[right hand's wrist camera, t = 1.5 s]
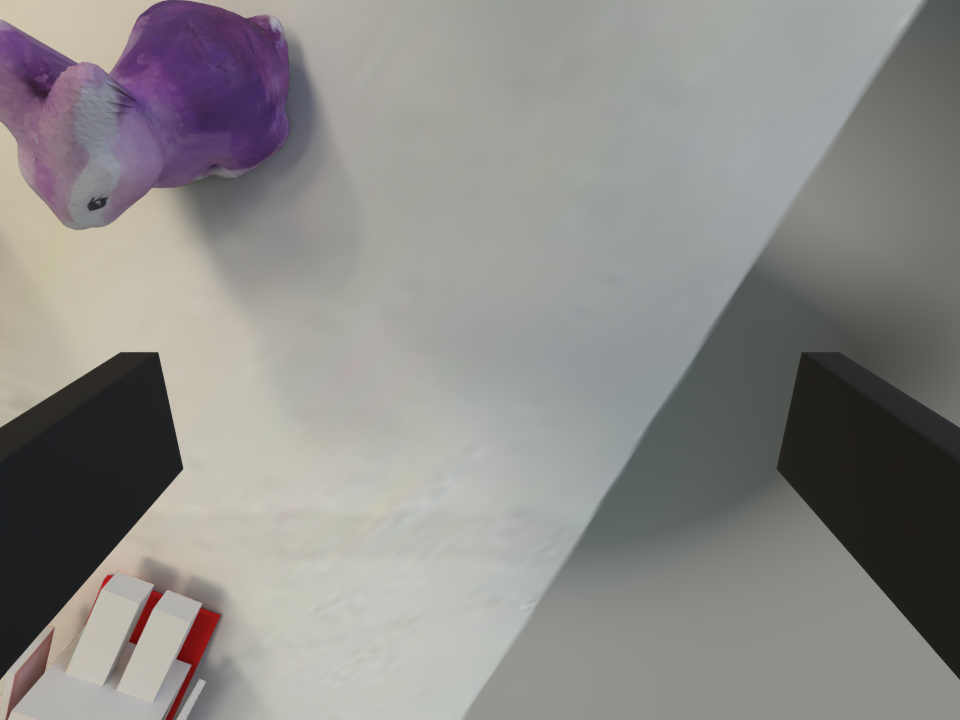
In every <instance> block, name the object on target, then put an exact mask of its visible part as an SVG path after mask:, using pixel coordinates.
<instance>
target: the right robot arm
mask: <svg viewBox="0 0 960 720" xmlns="http://www.w3.org/2000/svg"><path fill="white" fill-rule="evenodd" d="M182 470H183V465H182V460H181V456H180V451H179V446H178V442H177V437H176V432H175V428H174V423H173V419H172V414H171V409H170V405H169V400H168V395H167V391H166V386H165V381H164V377H163V372H162V368H161V363H160V358H159V354H158V352H120V353H119V354H117V355H116V356H114V357H112V358H111V359H109V360H108V361H106V362H104V363H103V364H101V365H100V366H98V367H96V368H95V369H93V370H92V371H90V372H88V373H87V374H85V375H84V376H82V377H80V378H79V379H77V380H76V381H74V382H72V383H71V384H69V385H68V386H66V387H65V388H63V389H61V390H60V391H58V392H57V393H55V394H53V395H52V396H50V397H49V398H47V399H45V400H44V401H42V402H41V403H39V404H37V405H36V406H34V407H33V408H31V409H29V410H28V411H26V412H25V413H23V414H21V415H20V416H18V417H17V418H15V419H13V420H12V421H10V422H9V423H7V424H5V425H4V426H2V427H1V428H0V679H1V678H2V677H3V676H4V675H5V674H6V672H7V671H8V670H9V669H10V668H11V667H12V665H13V664H14V663H15V662H16V661H17V660H18V659H19V657H20V656H21V655H22V654H23V653H24V652H25V651H26V649H27V648H28V647H29V646H30V645H31V644H32V642H33V641H34V640H35V639H36V638H37V637H38V636H39V634H40V633H41V632H42V631H43V630H44V629H45V627H46V626H47V625H48V624H49V623H50V622H51V621H52V619H53V618H54V617H55V616H56V615H57V614H58V613H59V611H60V610H61V609H62V608H63V607H64V606H65V604H66V603H67V602H68V601H69V600H70V599H71V598H72V596H73V595H74V594H75V593H76V592H77V591H78V590H79V588H80V587H81V586H82V585H83V584H84V583H85V581H86V580H87V579H88V578H89V577H90V576H91V575H92V573H93V572H94V571H95V570H96V569H97V568H98V566H99V565H100V564H101V563H102V562H103V561H104V560H105V558H106V557H107V556H108V555H109V554H110V553H111V552H112V550H113V549H114V548H115V547H116V546H117V545H118V543H119V542H120V541H121V540H122V539H123V538H124V537H125V535H126V534H127V533H128V532H129V531H130V530H131V528H132V527H133V526H134V525H135V524H136V523H137V522H138V520H139V519H140V518H141V517H142V516H143V515H144V514H145V512H146V511H147V510H148V509H149V508H150V507H151V505H152V504H153V503H154V502H155V501H156V500H157V499H158V497H159V496H160V495H161V494H162V493H163V492H164V490H165V489H166V488H167V487H168V486H169V485H170V484H171V482H172V481H173V480H174V479H175V478H176V477H177V476H178V474H179V473H180V472H181V471H182ZM777 470H778V471H779V472H780V473H781V474H782V476H783V477H784V478H785V479H786V480H787V481H788V482H789V484H790V485H791V486H792V487H793V488H794V489H795V490H796V492H797V493H798V494H799V495H800V496H801V497H802V499H803V500H804V501H805V502H806V503H807V504H808V505H809V507H810V508H811V509H812V510H813V511H814V512H815V514H816V515H817V516H818V517H819V518H820V519H821V520H822V522H823V523H824V524H825V525H826V526H827V527H828V528H829V530H830V531H831V532H832V533H833V534H834V535H835V537H836V538H837V539H838V540H839V541H840V542H841V543H842V545H843V546H844V547H845V548H846V549H847V550H848V551H849V553H850V554H851V555H852V556H853V557H854V558H855V560H856V561H857V562H858V563H859V564H860V565H861V566H862V568H863V569H864V570H865V571H866V572H867V573H868V575H869V576H870V577H871V578H872V579H873V580H874V581H875V583H876V584H877V585H878V586H879V587H880V588H881V589H882V591H883V592H884V593H885V594H886V595H887V596H888V598H889V599H890V600H891V601H892V602H893V603H894V604H895V606H896V607H897V608H898V609H899V610H900V611H901V613H902V614H903V615H904V616H905V617H906V618H907V619H908V621H909V622H910V623H911V624H912V625H913V626H914V627H915V629H916V630H917V631H918V632H919V633H920V634H921V636H922V637H923V638H924V639H925V640H926V641H927V642H928V644H929V645H930V646H931V647H932V648H933V649H934V651H935V652H936V653H937V654H938V655H939V656H940V657H941V659H942V660H943V661H944V662H945V663H946V664H947V665H948V667H949V668H950V669H951V670H952V671H953V672H954V673H955V675H956V676H957V677H958V678H959V679H960V428H959V427H958V426H956V425H954V424H953V423H951V422H950V421H948V420H947V419H945V418H943V417H942V416H940V415H939V414H937V413H935V412H934V411H932V410H931V409H929V408H927V407H926V406H924V405H923V404H921V403H919V402H918V401H916V400H915V399H913V398H911V397H910V396H908V395H907V394H905V393H903V392H902V391H900V390H899V389H897V388H895V387H894V386H892V385H891V384H889V383H887V382H886V381H884V380H883V379H881V378H880V377H878V376H876V375H875V374H873V373H872V372H870V371H868V370H867V369H865V368H864V367H862V366H860V365H859V364H857V363H856V362H854V361H852V360H851V359H849V358H848V357H846V356H844V355H843V354H841V353H840V352H802V354H801V358H800V363H799V368H798V372H797V377H796V381H795V386H794V391H793V395H792V400H791V405H790V410H789V414H788V419H787V423H786V428H785V433H784V437H783V442H782V447H781V451H780V456H779V460H778V465H777Z"/></svg>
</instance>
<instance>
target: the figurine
mask: <svg viewBox="0 0 960 720" xmlns="http://www.w3.org/2000/svg"><path fill="white" fill-rule="evenodd" d="M288 89H289V64H288V46H287V41H286V36H285V32H284V30H283V27H282V25H281V23H280V21H279V19H278V18H276V17H275V16H272V15H258V16H255V17H251V18H246V19H245V18H243V17H242V16H240V15H238V14H236V13H233V12H230V11H227V10H225V9H222V8H219V7H216V6H211V5H207V4H203V3H197V2H192V1H184V0H167V1H162V2H159V3H156V4H154V5H153V6H151V7H150V8H149V9H147V10H146V11H145V12H144V13H142V14H141V15H140V16H139V17H138V19H137V20H136V23H135V25H134V27H133V29H132V31H131V34H130V36H129V39H128V42H127V45H126V47H125V49H124V51H123V53H122V55H121V57H120V58H119V60H118V62H117V63H116V65H115V66H114V68H113V69H112V71H111V72H110V73H109V74H108V73H106V72H105V71H104V70H103V69H101V68H100V67H99V66H98V65H95V64H92V63H89V62H81V63H79V64H78V63H76V62H74V61H73V60H71V59H69V58H67V57H66V56H64V55H62V54H61V53H59V52H57V51H55V50H54V49H52V48H50V47H49V46H47V45H45V44H43V43H42V42H40V41H38V40H36V39H35V38H33V37H31V36H30V35H28V34H26V33H24V32H23V31H21V30H19V29H18V28H16V27H14V26H12V25H11V24H9V23H7V22H5V21H3V20H0V121H1V122H2V123H3V124H4V125H5V126H6V127H7V128H8V130H9V131H10V132H11V133H12V135H13V136H14V137H15V139H16V141H17V144H18V165H19V168H20V171H21V173H22V176H23V178H24V180H25V181H26V182H27V184H28V185H29V187H30V188H31V189H32V190H33V191H34V192H35V193H36V194H37V195H38V196H39V197H40V198H41V199H42V200H43V201H44V202H45V203H46V204H47V205H48V207H49V208H50V209H51V210H52V211H53V213H54V214H55V215H56V216H57V218H58V219H59V220H60V221H61V222H62V224H63V225H64V226H66V227H69V228H71V229H74V230H83V229H87V228H91V227H103V226H106V225H109V224H110V223H112V222H113V221H115V220H116V219H117V218H118V217H119V216H120V215H121V214H122V213H123V212H124V211H126V210H127V209H128V208H129V207H130V206H132V205H133V204H134V203H135V202H137V201H138V200H139V199H140V198H142V197H143V196H144V195H146V193H147V192H148V191H149V190H150V189H151V188H173V187H178V186H183V185H185V184H188V183H190V182H192V181H194V180H200V179H204V178H206V177H209V176H211V175H217V176H219V177H222V178H225V179H230V178H237V177H239V176H241V175H243V174H245V173H247V172H249V171H250V170H252V169H254V168H256V167H257V166H258V165H260V164H261V163H263V162H265V161H266V160H268V159H269V158H270V157H271V156H273V155H274V154H275V153H277V152H278V151H279V149H280V148H281V147H282V146H283V145H284V144H285V141H286V139H287V137H288V134H289V122H288V118H287V116H286V113H285V104H286V99H287V95H288Z"/></svg>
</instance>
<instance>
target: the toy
mask: <svg viewBox="0 0 960 720" xmlns="http://www.w3.org/2000/svg"><path fill="white" fill-rule="evenodd" d="M153 587H154V584H151V583H149V582H146V581H143V580H141V579H138V578H136V577H133V576H130V575H128V574H125V573H123V572H120V571H118V572H117V573H116V574H115V575H114V576H110V575H108V576H107V577H106V578H105V579H104V581H103V584H102V586H101V588H100V591H99V593H98V596H97V598H96V600H95V603H94V605H93V608H92V610H91V612H90V615H89V617H88V619H87V622H86V624H85V627H84V628H83V629H82V630H81V631H80V633H79V634H78V635H77V636H76V637H75V638H74V639H73V641H72V642H71V643H70V644H69V645H68V646H67V648H66V649H65V650H64V651H63V652H62V653H61V654H60V656H59V657H58V658H57V659H56V660H55V661H54V663H53V664H52V665H51V666H50V667H49V668H48V669H47V671H46V672H45V668H46V664H47V659H48V655H49V650H50V646H51V642H52V637H53V633H54V628H55V627H52V626H46V627H45V629H44V630H43V631H42V632H41V633H40V634H39V636H38V637H37V638H36V639H35V640H34V641H33V642H32V644H31V645H30V646H29V647H28V648H27V649H26V651H25V652H24V653H23V654H22V655H21V656H20V657H19V659H18V660H17V661H16V662H15V663H14V664H13V665H12V667H11V668H10V669H9V670H8V671H7V672H6V677H5V682H4V687H3V691H2V696H1V701H0V720H173V718H174V716H175V713H176V711H177V709H178V707H179V705H180V703H181V700H182V698H183V696H184V694H185V692H186V690H187V687H188V685H189V683H190V681H191V679H192V677H193V674H194V672H195V670H196V668H197V666H198V664H199V661H200V659H201V657H202V655H203V653H204V650H205V648H206V646H207V644H208V642H209V640H210V637H211V635H212V633H213V631H214V629H215V627H216V624H217V622H218V620H219V618H220V616H221V615H219V614H216V613H214V612H211V611H208V610H205V609H202V608H201V606H202V603H201V602H198V601H195V600H193V599H190V598H188V597H185V596H182V595H180V594H177V593H175V592H172V591H169V590H167V591H166V592H165V594H164V595H163V594H161V593H158V592H155V591H152V589H153ZM205 683H206V681H204V680H202V679H199V681H198V682H197V684H196V685H195V687H194V689H193V690H192V692H191V694H190V695H189V697H188V698H187V700H186V702H185V703H184V705H183V706H182V708H181V710H180V711H179V713H178V715H177V716H176V718H175V719H174V720H186V718H187V716H188V714H189V713H190V711H191V709H192V707H193V705H194V703H195V701H196V700H197V698H198V696H199V694H200V692H201V690H202V688H203V686H204V685H205Z"/></svg>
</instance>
